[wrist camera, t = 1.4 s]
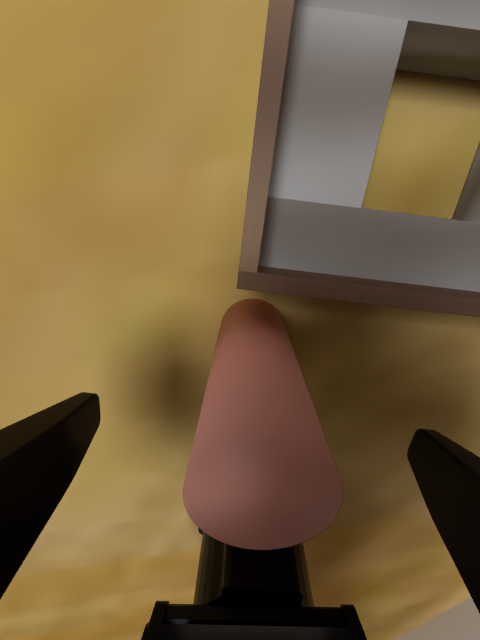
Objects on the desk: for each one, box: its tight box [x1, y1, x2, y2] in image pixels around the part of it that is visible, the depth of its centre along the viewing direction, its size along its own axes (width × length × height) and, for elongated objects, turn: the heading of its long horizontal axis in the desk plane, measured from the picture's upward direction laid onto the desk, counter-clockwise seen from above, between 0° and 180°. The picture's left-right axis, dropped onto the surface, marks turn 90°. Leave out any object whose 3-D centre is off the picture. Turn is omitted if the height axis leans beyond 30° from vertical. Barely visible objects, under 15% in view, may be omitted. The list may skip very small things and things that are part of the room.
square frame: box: [237, 0, 480, 317], centre depth 9 cm, size 11×13×4 cm
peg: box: [183, 299, 343, 550], centre depth 10 cm, size 3×3×9 cm
